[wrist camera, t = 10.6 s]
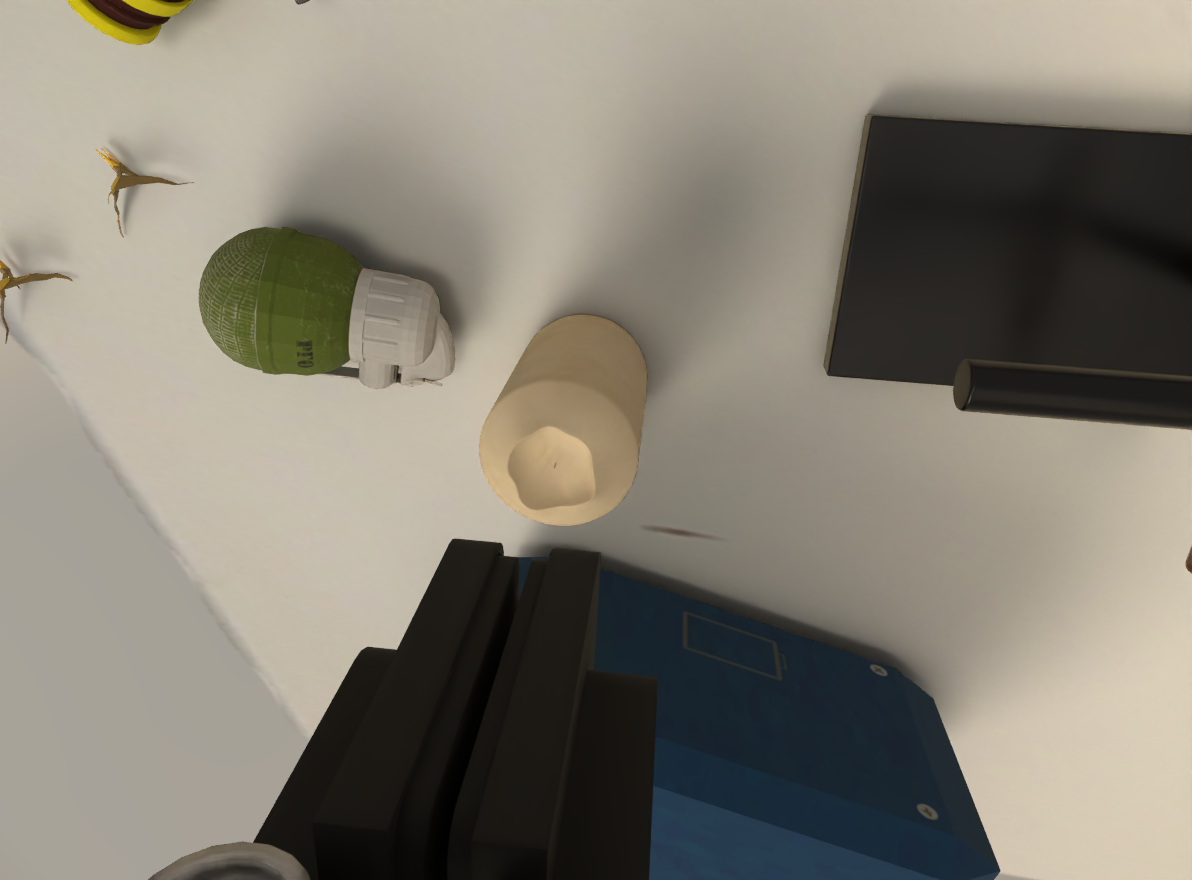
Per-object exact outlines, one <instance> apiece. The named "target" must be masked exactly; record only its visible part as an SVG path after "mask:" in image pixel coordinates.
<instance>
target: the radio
mask: <svg viewBox="0 0 1192 880" xmlns="http://www.w3.org/2000/svg"><path fill="white" fill-rule="evenodd" d="M518 558H519V562H520V586H519V599H520V596H521V593H522V590H523V587H524V583H525V580H526V577H527V574H528V570H529V567H530V564H531V561H532V559H540V560H549V557H518ZM594 670H595V671H605V672H614V673H624V674H633V675H643V676H653V677H658V688H657V712H656V734H655V757H654V780H653V803H652V825H651V848H650V871H649V880H994V879H995V878H996V876H997V875H998V874H999V872H1000V868H999V866H998V863H997V861H996V858H995V855H994V853H993V850H992V848H991V845H990V843H989V840H988V838H987V835H986V832H985V830H984V827H983V825H982V822H981V820H980V817H979V815H978V812H977V809H976V807H975V804H974V802H973V799H972V797H971V794H970V792H969V789H968V786H967V784H966V781H965V779H964V776H963V774H962V771H961V769H960V766H959V763H958V761H957V758H956V756H955V753H954V751H953V748H952V746H951V743H950V740H949V738H948V735H947V733H946V730H945V728H944V725H943V723H942V720H941V718H940V715H939V712H938V710H937V707H936V705H935V702H934V700H933V698H932V697H931V696H929V695H928V694H927V693H926V692H924V691H923V690H922V689H921V688H920V687H918V686H917V685H916V684H915V683H913V682H912V681H911V680H910V679H909V678H907V677H906V676H905V675H904V674H902V673H901V672H900V671H899V670H897V669H896V668H893V667H890V666H887V665H884V664H881V663H878V662H875V661H872V660H870V659H867V658H864V657H861V656H858V655H855V654H852V653H849V652H846V651H843V650H840V649H837V648H834V647H831V646H828V645H825V644H822V643H819V642H816V641H813V640H810V639H807V638H804V637H801V636H799V635H796V634H793V633H790V632H787V631H784V630H781V629H778V628H775V627H772V626H769V625H766V624H763V623H760V622H757V621H754V620H751V619H748V618H745V617H742V616H739V615H736V614H733V613H731V612H728V611H725V610H722V609H719V608H716V607H713V606H710V605H707V604H704V603H701V602H698V601H695V600H692V599H689V598H686V597H683V596H680V595H677V594H674V593H671V592H668V591H665V590H663V589H660V588H657V587H654V586H651V585H648V584H645V583H642V582H639V581H636V580H633V579H630V578H627V577H624V576H621V575H618V574H615V573H612V572H609V571H606V570H603V569H600V579H599V595H598V611H597V626H596V642H595V658H594Z"/></svg>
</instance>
